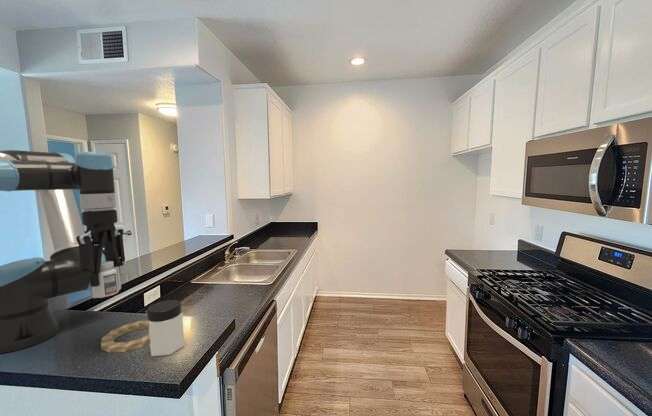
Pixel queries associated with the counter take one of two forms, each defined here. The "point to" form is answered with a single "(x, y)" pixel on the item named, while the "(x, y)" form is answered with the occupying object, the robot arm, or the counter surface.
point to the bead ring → (114, 347)
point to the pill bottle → (109, 278)
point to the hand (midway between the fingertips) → (107, 293)
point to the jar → (165, 327)
